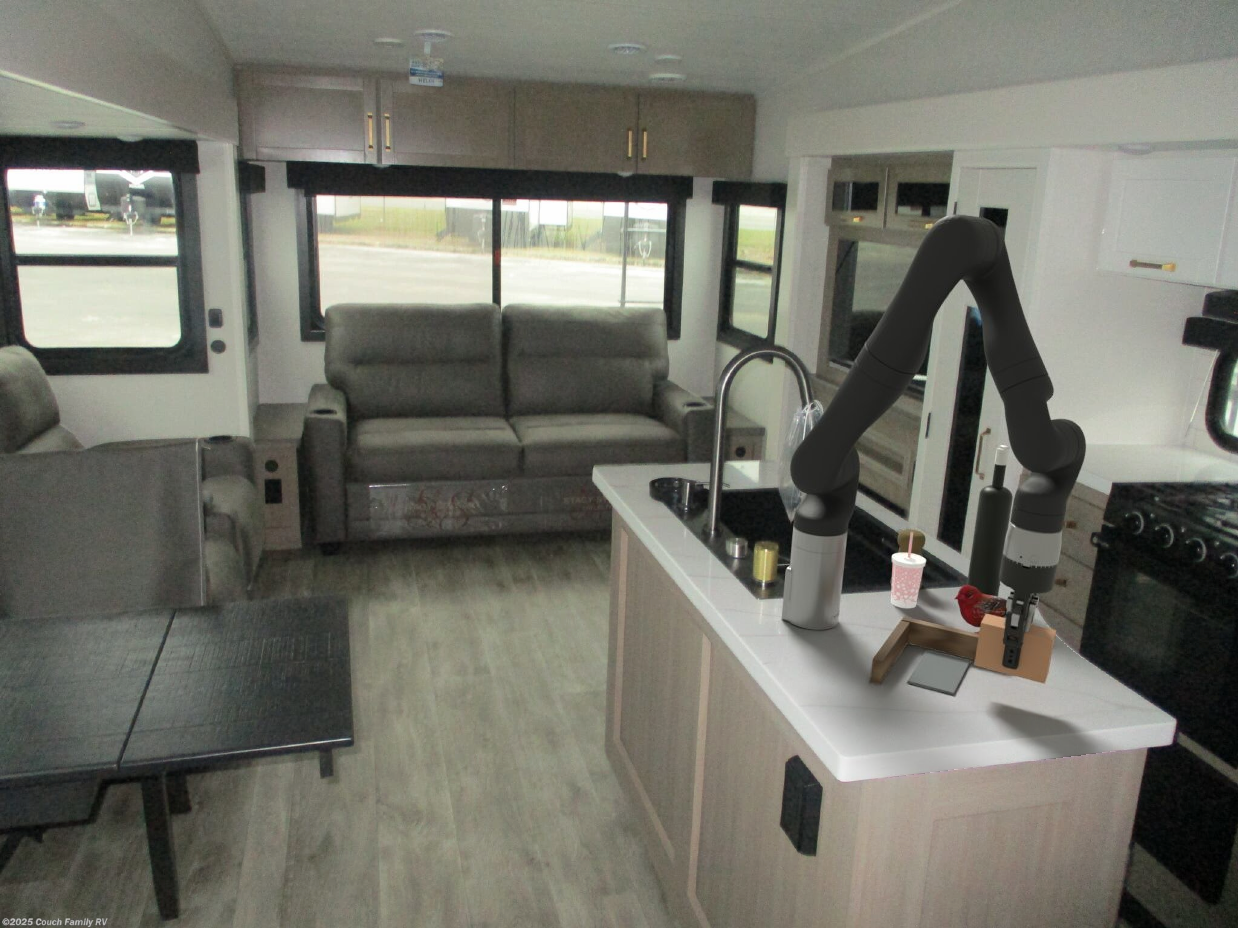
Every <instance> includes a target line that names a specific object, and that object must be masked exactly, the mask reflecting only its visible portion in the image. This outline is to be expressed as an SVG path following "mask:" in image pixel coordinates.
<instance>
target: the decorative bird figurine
mask: <svg viewBox="0 0 1238 928" xmlns="http://www.w3.org/2000/svg"><path fill="white" fill-rule="evenodd" d="M954 600H957V605H958V608H959V612H960V616H961V618H963V620H964V621H965V622H966V623H967V624H969V625H970V626H972V627H975V628H979V629H980V626H981V622H982V620H983V618H984V616H985V614H990V615H994V616H998V617H1002V618H1006V617H1005V616H1006V613H1007V608H1006V603H1007V599H1005V598H1002V597H1000V596H998V597H997V596H992V595H985V594H982V593H981V592H980V591H979V590H978V589H977V588H975V587H973V586H970V585H967V584H964V585H963V586H962V587H961V586H960V588H959V590H958V592H957V594H956V596H955V597H954ZM979 632H980V630H979V631H975V632H973V633H977V634H979Z"/></svg>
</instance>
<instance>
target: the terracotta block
mask: <svg viewBox="0 0 1238 928" xmlns="http://www.w3.org/2000/svg"><path fill="white" fill-rule="evenodd" d="M1005 618H1006V617H1004V618H1002V617H998V616H994V615H990V614H985V616H984V618H983V620H982V622H981V626H980V628H979V631H980V632H979V631H978V632H979V638H978V644H977V650H976V657H975V660H974V664H973V666H975V667H979V668H984V669H988V670H991V671H994V672H999V673H1001V674H1005V675H1006V674H1007V675H1010V676H1014V677H1018V678H1021V679H1025V680H1029V681H1032V682H1036V683H1040V684H1043V685H1045V684H1046V681H1047V679H1048V676H1049V671H1050V667H1051V661H1052V655H1053V649H1054V646H1055V645H1054V644H1055V639H1056V634H1057V629H1052V628H1047V627H1043V626H1039V625H1035V624H1033V623H1032V624H1031V625H1030V630H1029V631H1028V632H1026V633H1025V635H1024V641H1023V642H1024V645H1022V648H1021V654H1020V659H1019V665H1018V668H1017V669H1015V670H1014V669H1010V668H1006V667H1004V666H1003V665H1002V661H1003V655H1004V649H1005V644H1003V638H1004V631H1005V626H1004V623H1005ZM1025 625H1026V624H1025ZM1025 625H1024V626H1025ZM1010 636H1011V637H1015V638H1018V636H1015V635H1011V634H1010Z"/></svg>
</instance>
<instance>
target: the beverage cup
mask: <svg viewBox="0 0 1238 928" xmlns="http://www.w3.org/2000/svg"><path fill="white" fill-rule="evenodd" d="M912 540H913V532H911V534H910V542H909V551H908V553H898V552H895V553H893V554H892V555H891V563H892V569H891V570H892V571H891V578H892V584H891V591H890V593H891V595H890V603H891V604H892V605H893V606H895V607H898V608H900V609H914V608H916V607H917V603H918V602H917V601H918V597H919V592H920V589H919V587H920V582H921V577H922V578H923V571H924V567H926V563H927V559H926V558H925V557H923V555H922V556H920V555H916V554H912V553H911V548H912Z"/></svg>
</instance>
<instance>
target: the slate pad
mask: <svg viewBox="0 0 1238 928" xmlns="http://www.w3.org/2000/svg"><path fill="white" fill-rule="evenodd" d="M970 664H971V660H970V659H968V658H964V657H963V658H962V657H960V656H959V657H958V656H956V655H955V656H954V655H952V654H951V655H950V654H948V653H944V652H940V651H938V652H937V651H936V650H932V649H926V650H925V652H924V654H923V655H922V657H921V658H920V660H919V662H917V665H916V666H915V668H914V670H913V671H912V672H911V675H910V676H909V678H908V679H907V684H910V685H914V686H917V687H922V688H924V689H927V690H928V689H929V690H933V691H936V692H940V693H944V694H947V695H952V696H954V695H955V693H956V691H957V689H958V687H959V685H960V684H961V681H962V679H963V677H964V675H965V673H966V671H967V669H968V667H969V665H970Z"/></svg>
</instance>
